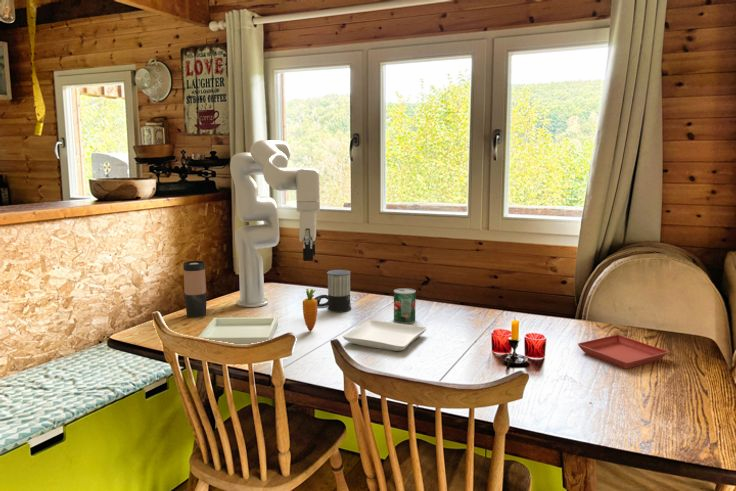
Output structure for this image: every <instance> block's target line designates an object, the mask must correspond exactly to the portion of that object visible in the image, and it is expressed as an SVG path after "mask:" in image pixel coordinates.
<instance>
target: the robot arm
mask: <svg viewBox="0 0 736 491" xmlns="http://www.w3.org/2000/svg"><path fill="white" fill-rule="evenodd" d="M290 158H291V148H290V146H289V144H288V143H287V142H286V141H284V140H280V139H279V140H275V139H274V140H272V139H270V140H269V139H264V140H257V141H255V142H254V143H253V144H252V145H251V147H250V151H249V152H247V151H246V152H238V153H235V154H234V155H233V156H232V157H231V159H230V162H229V166H230V167H229V168H230V175H231V178H232V181H233V183H234V186H235V187H234V188H235V198H236V211H237V212H236V213H237V216H238V219H239V221H241V222H246V223H249V222H263V223H262V224H252V225H251V224H250V225H249V224H248V225H244V226H240V227H239V228H237V229H236V231H235V234H234V237H235V238H234V240H235V244H236V249H237V257H238V276H239V277H238V278H239V280H238V281H239V298H238V299H237V300H236V302H235V303H236V306H238V307H241V308H257V307H262V306H265V305H268V304H269V299H268V298H267V297H265V282H264V280H265V279H264V278H265V276H264V259H263V257H262V255H261V254H260V252H259V251H258V250H259V249H266V248H273V247H276V246H278V244H279V242H280V222H279V209H278V204H277V203H276V201H275V199H274V198H273V197H270V196H259V190H258V189H259V188H258V183H257V182H256V181H255V180H254V178H253V177H252V176H253V175H261V176H262V175H263V179H264V181H265V183H266V184H267V185H268V186H270V187H271V188H272V189H274V190H275V191H279V192H282V191H283V192H284V191H285V192H287V191H296V194H295V196H296V212H299V239H298V240H299V242H300V243H302V242H303V248H302V261H303V262H312V261H314V256H316V243H315V242H316V238H317V213H318V212H320V211H321V208H320V207H321V205H320V203H321V202H320V200H321V199H320V197H321V196H320V172H319V170H318V169H317V168H308V167H288V164H289V160H290ZM251 175H252V176H251Z"/></svg>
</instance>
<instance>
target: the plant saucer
mask: <svg viewBox="0 0 736 491" xmlns="http://www.w3.org/2000/svg"><path fill="white" fill-rule="evenodd" d="M577 346H578V347H579V348H580V349H581V350H582V352H584V354H586V355H588V356H591V357H594V358H596V359H599V360H601V361H603V362H606V363H609V364H612V365H614V366H617V367H619V368H622V369H625V370H627V369H632V368H636V367H639V366H643V365H646V364H650V363H654V362H657V361H660V360H661V359H663V358H664V357H665V356H666V355H667V354H669V351H668V350H665V349H663V348H660V347H656V346H653V345H650V344H648V343H644V342H641V341H639V340H637V339H636V340H635V339H633V338H630V337H627V336H624V335H620V334H613V335H609V336H604V337H600V338H595V339H591V340H587V341H583V342H578V343H577Z"/></svg>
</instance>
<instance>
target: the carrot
mask: <svg viewBox="0 0 736 491" xmlns="http://www.w3.org/2000/svg"><path fill="white" fill-rule="evenodd" d="M305 291H306V297H307V298H305V299H303V300H302V314H303V320H304V323H305V325H306V327H307V330H308V331H309V332H312V331H314V330H313V329H314V327H315V325H316V322H317V316H318V307H317V300H316V299H314V298H315V297H314V296H315V295H314V293H315V292H316V290H314V289H313V288H310V289H309V288H306V290H305Z"/></svg>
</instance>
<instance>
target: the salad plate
mask: <svg viewBox="0 0 736 491" xmlns="http://www.w3.org/2000/svg"><path fill="white" fill-rule="evenodd" d="M426 331H427V327H424V326H417V325H410V324H403V323H397V322H391V321H383V320H381V321H380V320H375V319H374V320H372V319H370V320H367V321H366V322H364V323H362V324H360V325H359V326H357V327H355V328H353V329H352V330H350V331H349V332H347V333H346V334H344V335H343V336H342V338H343V339H344V340H345V341H347V342H349V343H351V344H355V345H357V346H362V347H367V348H375V349H382V350H388V351H399V352H401V351H403V350H405V349H406V348H407V347H408V346H409V345H410V344H412V343H413V341H415V340H416V339H417V338H419V337H420V336H422V335H423V334H424V333H425V332H426Z"/></svg>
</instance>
